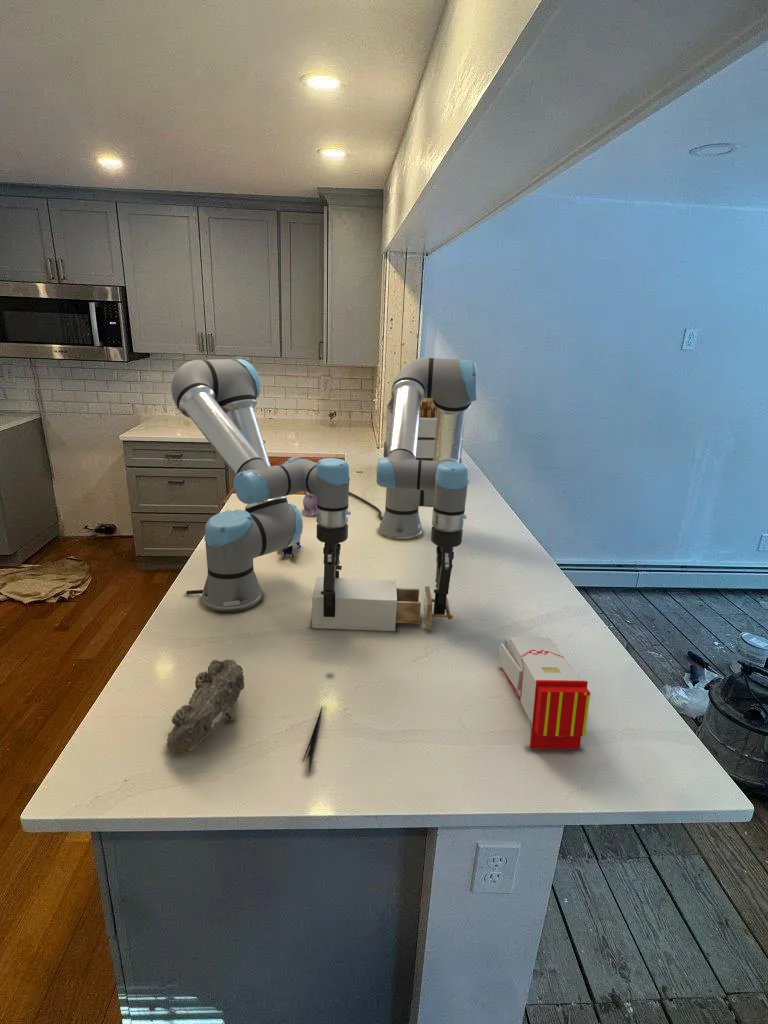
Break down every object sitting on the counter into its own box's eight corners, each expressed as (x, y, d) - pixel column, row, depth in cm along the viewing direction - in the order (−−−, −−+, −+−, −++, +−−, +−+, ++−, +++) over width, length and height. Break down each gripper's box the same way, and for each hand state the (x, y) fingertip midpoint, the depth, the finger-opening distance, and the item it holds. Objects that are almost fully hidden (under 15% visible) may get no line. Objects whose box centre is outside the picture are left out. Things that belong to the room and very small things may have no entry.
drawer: (448, 609, 149) (450, 587, 147) (452, 628, 140) (454, 605, 138) (355, 605, 149) (356, 583, 147) (353, 624, 140) (354, 601, 137)
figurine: (306, 518, 210) (306, 479, 205) (297, 509, 219) (297, 471, 214) (330, 515, 214) (330, 476, 209) (320, 506, 223) (320, 469, 218)
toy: (546, 620, 128) (599, 688, 99) (541, 675, 131) (591, 756, 102) (493, 619, 128) (531, 687, 99) (489, 674, 131) (524, 755, 101)
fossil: (192, 660, 117) (244, 628, 112) (224, 691, 120) (276, 661, 115) (142, 746, 98) (202, 712, 93) (182, 779, 101) (242, 748, 96)
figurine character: (298, 566, 175) (304, 542, 188) (297, 544, 171) (303, 521, 185) (276, 565, 174) (283, 541, 188) (275, 544, 171) (282, 521, 184)
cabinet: (394, 609, 150) (396, 580, 147) (395, 631, 140) (396, 600, 137) (317, 606, 150) (317, 577, 147) (312, 627, 139) (312, 597, 136)
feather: (331, 679, 122) (336, 673, 122) (307, 777, 96) (313, 769, 95) (324, 675, 122) (329, 669, 121) (298, 772, 95) (304, 764, 95)
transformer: (382, 463, 289) (386, 382, 275) (445, 464, 293) (451, 384, 279) (390, 482, 257) (394, 392, 243) (460, 483, 261) (468, 394, 247)
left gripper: (344, 543, 125) (343, 629, 132) (350, 507, 147) (349, 583, 154) (310, 541, 125) (310, 628, 132) (321, 506, 147) (321, 582, 154)
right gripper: (466, 538, 130) (456, 628, 138) (459, 518, 142) (451, 601, 150) (433, 536, 130) (425, 626, 138) (430, 516, 142) (423, 600, 150)
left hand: (331, 604), depth 143 cm, fingers closed on cabinet, 11 cm apart
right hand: (439, 613), depth 144 cm, fingers closed
